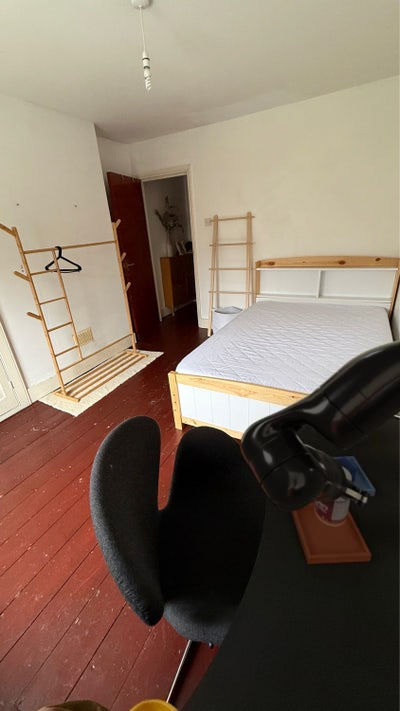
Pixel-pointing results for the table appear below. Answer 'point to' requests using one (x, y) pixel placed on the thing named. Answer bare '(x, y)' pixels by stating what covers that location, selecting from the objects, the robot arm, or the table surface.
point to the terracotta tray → (329, 539)
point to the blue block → (347, 467)
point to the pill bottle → (333, 509)
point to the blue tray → (360, 476)
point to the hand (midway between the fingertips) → (337, 483)
